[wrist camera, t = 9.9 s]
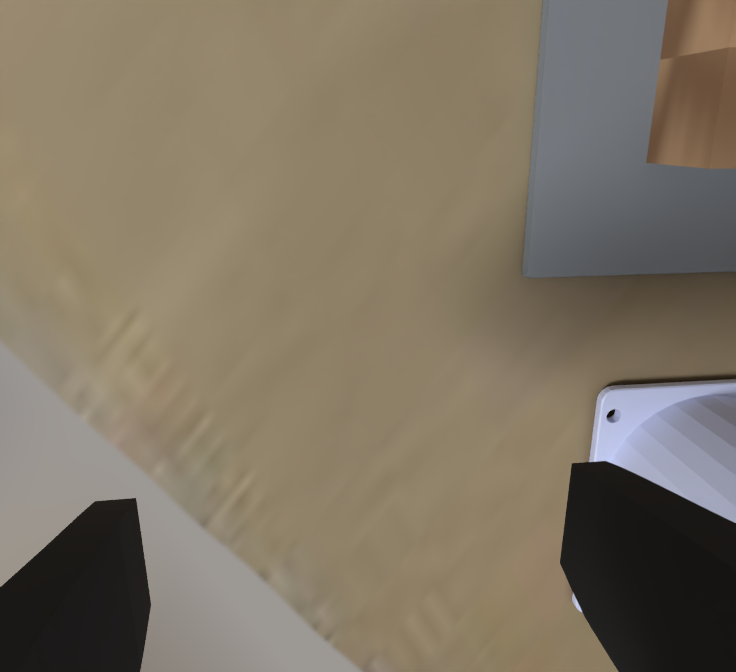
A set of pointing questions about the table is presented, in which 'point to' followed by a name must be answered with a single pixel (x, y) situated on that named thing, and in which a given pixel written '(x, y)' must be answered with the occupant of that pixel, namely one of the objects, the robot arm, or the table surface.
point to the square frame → (696, 87)
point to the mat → (614, 155)
